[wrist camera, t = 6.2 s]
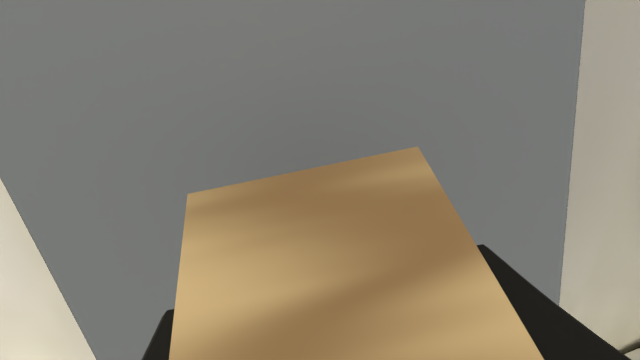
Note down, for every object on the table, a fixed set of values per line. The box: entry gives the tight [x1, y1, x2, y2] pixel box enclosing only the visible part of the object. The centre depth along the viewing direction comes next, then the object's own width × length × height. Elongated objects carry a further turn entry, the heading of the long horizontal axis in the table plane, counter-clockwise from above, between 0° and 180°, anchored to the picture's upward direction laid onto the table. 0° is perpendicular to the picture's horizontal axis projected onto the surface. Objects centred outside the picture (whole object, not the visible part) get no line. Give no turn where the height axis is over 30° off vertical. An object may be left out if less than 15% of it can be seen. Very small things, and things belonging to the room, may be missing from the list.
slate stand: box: [0, 0, 585, 360], centre depth 14 cm, size 12×12×2 cm
